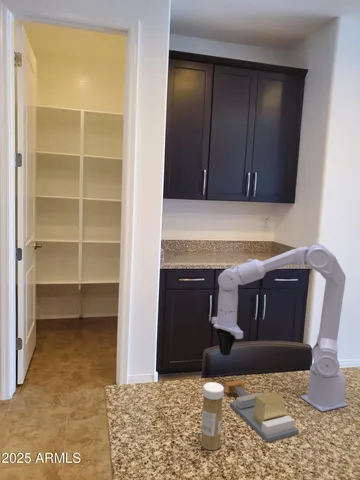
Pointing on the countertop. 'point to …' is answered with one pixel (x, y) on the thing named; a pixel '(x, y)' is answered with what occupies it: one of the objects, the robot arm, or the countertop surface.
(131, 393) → the countertop surface
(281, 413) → the brass block
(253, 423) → the vise base
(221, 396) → the sprinkles bottle
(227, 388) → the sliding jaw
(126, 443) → the countertop surface
